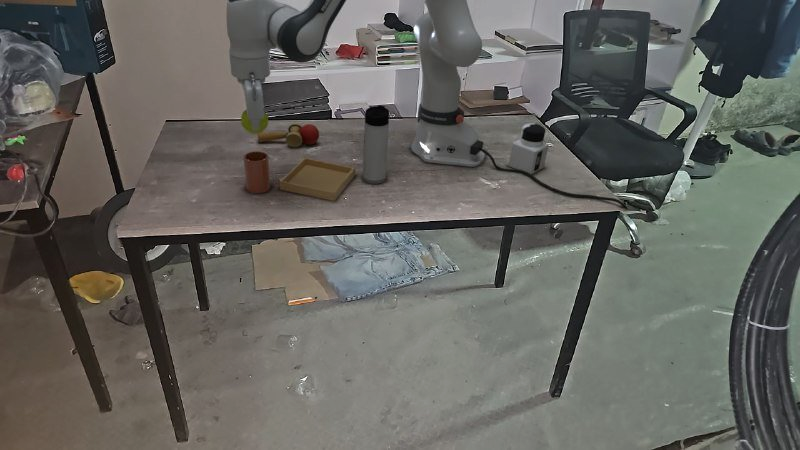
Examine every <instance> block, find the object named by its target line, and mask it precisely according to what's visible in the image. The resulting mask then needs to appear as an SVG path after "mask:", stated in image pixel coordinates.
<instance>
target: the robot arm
mask: <svg viewBox="0 0 800 450" xmlns="http://www.w3.org/2000/svg"><path fill="white" fill-rule="evenodd" d="M346 2H347V0H310V1H309V2H308V4H307V6H306V7H305V8H304V9H302V10H298V9H297V8H295V7H293V6H291V5H289V4H287V3H282V2H279V1H276V0H227V3H226V33H227V37H228V39H229V52H228V54H229V65H230V66H229V67H230V75H231V76H232V77H234V78H236V80H237V81H236V82H237V83H239V84H241V88H242V92H243V99H244V103H245V110H246V111H247V116H248V119H249V120H251V126H252V130H253V131H255V130H259V129H260V125H259V122H260V120H261V119H263V118H264V111H265V108H264V107H265V105H264V94H263V87H262V85H263V84H264V83H265V82H266V79H267V78H268V77H270V75H271V60H270V59H271V58H270V57H271V55H270V51H271V50H272V49H277V50H279V51H280V52H282V53H283V55H285V57H287V58H288V59H289V60H290V61H292V62H294V63H298V64H300V63H301V64H302V63H309V62H311V61H314V59H316V58H317V57H318V56H319V55H320V54H321V53H322V51H323V49H324V47H325V46H326V45H325V44H326V41H327V38H328V35H329V31H330V29H331V27H332V25H333V23H334V21H335V20H336V18H337V16H338V15H339V13H340V12H341V10H342V8H343V7H344V5H345V3H346ZM423 2H424V4H425V6H426V9H427V10H428V12H425V13H423V14H421V16H419V18H418V19H417V20H416V22H415V24H414V28H413V35H414V39H415V40H416V43H417V46H418V52H419V57H420V64H421V66H420V67H421V75H422V83H421V97H420V103H419V104H418V110H417V127H416V131H415V132H416V133H415V135H414V136H415V137H414V140H413V141H412V144H411V147H410V148H411V151H412V152H413V153H414V154H416V155H417V156H418V157H420V158H421V159H422V160H423V162H424V163H430V164H431V163H432V164H442V165H450V166H460V167H468V168H469V167H470V168H474V167H477V166H480V165H481V164H482V163H483V162H484V160H485V157H486V156H487V157H488V158H489V159H490V160H491V162H492V165H493V166H494V168H495V169H497V170H499V171H502V172H510V173H511V172H512V173H520V174H524V175H527V176H528V177H529V178H531V179H532V180H533V181H535V182H536V183H537V184H539V185H541V186H542V187H544V188H546V189H548V190H550V191H553V192H556V193H558V194H561V195H564V196H569V197H574V198H586V199H587V198H588V199H594V200H601V201H611V202H615V203H617V204H619V205H621V206H622V207H623V209H625V210H628V207H627V205H626V204H625V203H624V202H623V201H621V200H620V199H617V198H613V197H606V196H598V195H594V194H593V195H592V194H583V193H582V194H581V193H580V194H578V193H572V192H567V191H563V190H560V189H557V188H555V187H553V186H550V185H548V184H547V183H544V182H542V181H541V180H539V179H538V178H536V177H535V176H534V175H533V174H530V173H528V172H526V171H523V170H518V169H514V168H502V167H501V166H498V164H497V163H496V161H495V159H494V157H493V155H492V154H491V153H489V152H488V151H487V150H486V149H485V148H484V141H481V140H479V135H478V133H477V131H475V130H474V128H472V127H471V126H470V125H469V124H468V123H467V122H466V121H465V111H466V110H465V108H463V109H462V108H461V107H460V106H459V103H460V96H461V89H462V80H461V76H460V74H459V72H458V67H459V68H468V67H470V66H472V65H474V64H475V63H476V62H477V61H478V59H479V58H480V56H481V54H482V51H483V41H482V38H481V36H480V34H479V33H478V31H477V30H476V27H475V25H474V21H473V19H472V15H471V11H470V8H469V5H468V1H467V0H423Z"/></svg>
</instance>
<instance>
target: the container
mask: <svg viewBox="0 0 800 450" xmlns="http://www.w3.org/2000/svg"><path fill="white" fill-rule="evenodd" d="M545 134H546V128H545V127H544V126H543V125H541V124H539V123H526V124H524V125H523V126H522V127H521V134H520V138H519V139H518V140H516V141H513V142H512V145H511V150H510V156H509V161H508V167H509V168H511V169H518V170H523V171H526V172H528V173H530V174H531V175H533V174H535V173H536V172H539V171H540V170H542V169H544V167H545V163H546V159H547V156H548V155H547V154H548V150H549V145H550V144H549V143H547V142H544V139H545Z"/></svg>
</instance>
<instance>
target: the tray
mask: <svg viewBox="0 0 800 450" xmlns="http://www.w3.org/2000/svg"><path fill="white" fill-rule="evenodd" d="M355 176H356V167H354V166H348V165H344V164H338V163H334V162H329V161H324V160H318V159H314V158H310V157H303V158H302V159H301V160H300V161H299V162H298V163H297V164H296V165H295V166H294V167H293V168H292V169H291V170H290V171H288V173H286V175H284V176H283V177H282V178H281V179H280V180H279V190H281V191H285V192H291V193H295V194H300V195H304V196H309V197H314V198H318V199H321V200H322V199H323V200H328V201H332V202H335V201H336V200H337V198H338V197H339V196H340V195H341V193H343V191H344V190H345V189H346V188H347V186H348V185H349V184H350V182H351V181H352V180H353V179H354V177H355Z"/></svg>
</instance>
